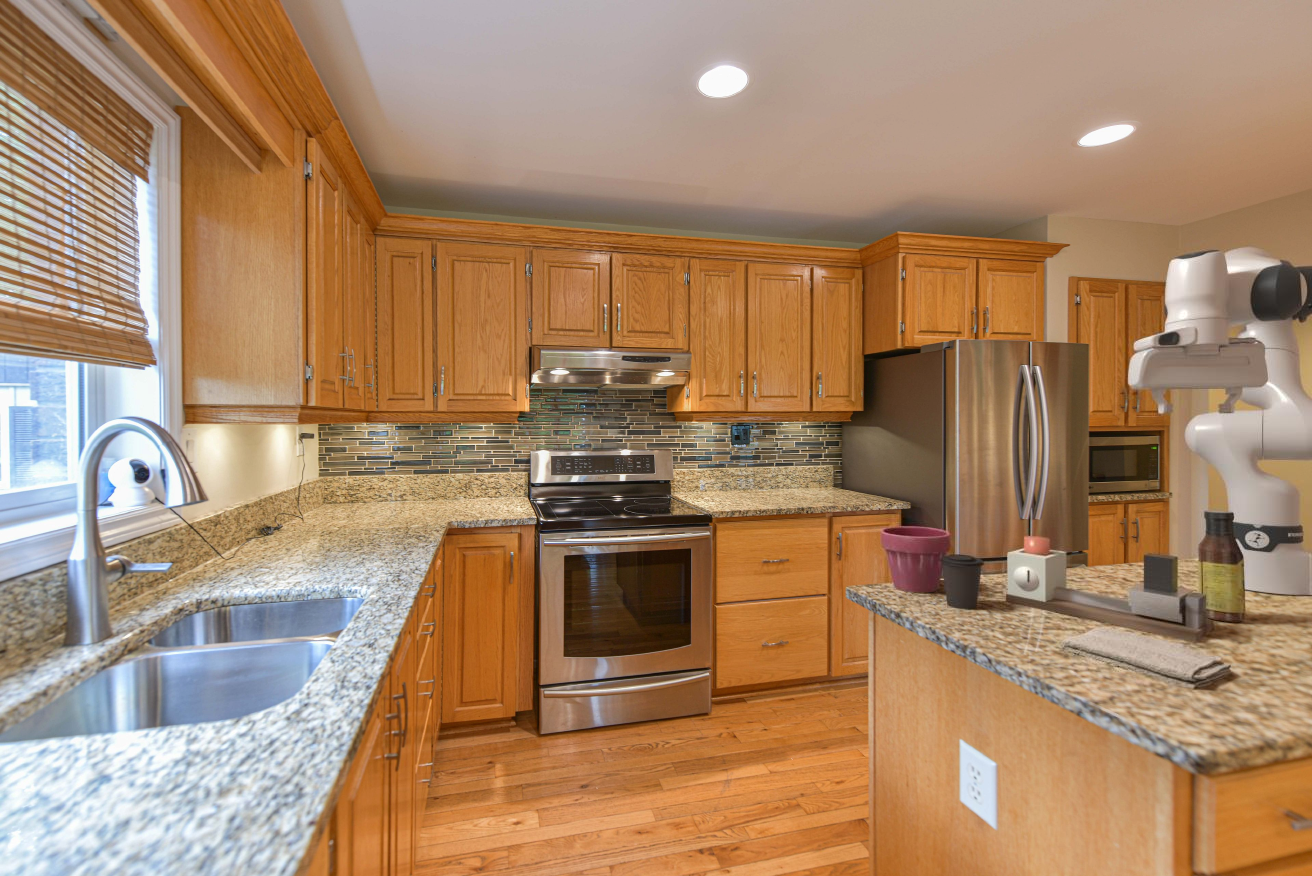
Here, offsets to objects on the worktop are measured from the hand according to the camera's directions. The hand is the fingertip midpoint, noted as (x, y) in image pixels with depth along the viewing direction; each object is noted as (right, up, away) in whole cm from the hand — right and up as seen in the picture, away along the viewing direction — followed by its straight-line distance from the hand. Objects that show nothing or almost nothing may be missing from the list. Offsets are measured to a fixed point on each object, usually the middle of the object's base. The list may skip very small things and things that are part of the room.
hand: (1195, 413), depth 110 cm
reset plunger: (-21, -31, +12) cm, 39 cm away
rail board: (-15, -38, +3) cm, 41 cm away
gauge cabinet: (-21, -38, +13) cm, 45 cm away
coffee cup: (-38, -39, +10) cm, 55 cm away
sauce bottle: (+5, -38, 0) cm, 39 cm away
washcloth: (-26, -39, -19) cm, 51 cm away
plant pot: (-42, -38, +24) cm, 61 cm away
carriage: (-10, -36, -4) cm, 38 cm away
